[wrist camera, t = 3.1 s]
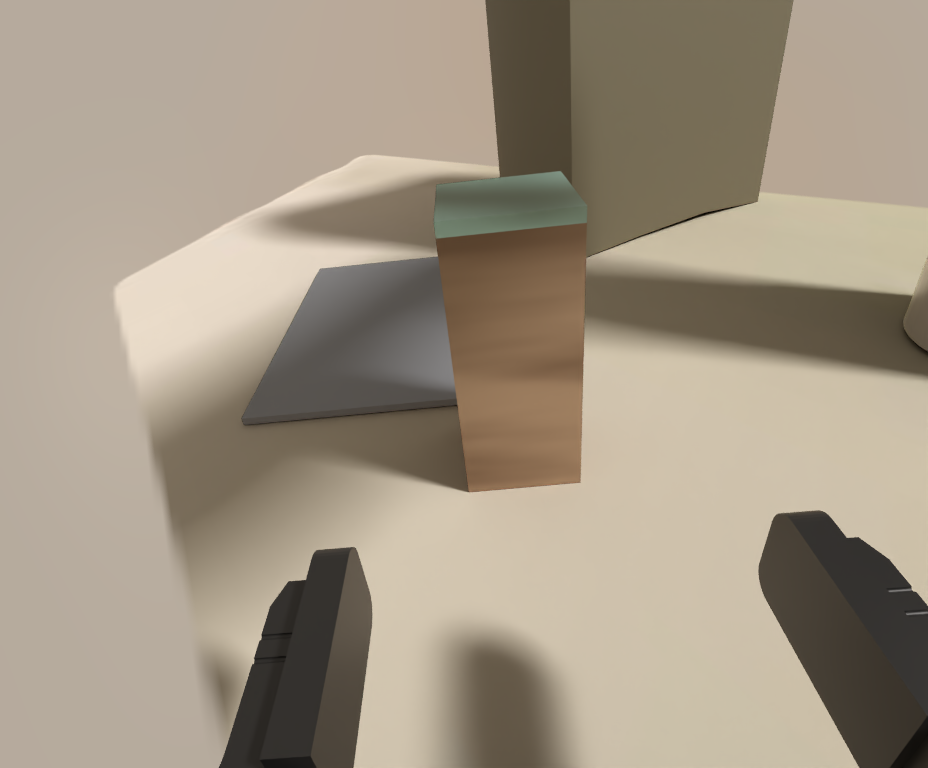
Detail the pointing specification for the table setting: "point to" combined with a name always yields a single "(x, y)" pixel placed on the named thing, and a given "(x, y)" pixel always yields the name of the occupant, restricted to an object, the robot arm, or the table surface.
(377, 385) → the rubber mat
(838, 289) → the table surface
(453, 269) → the walnut block
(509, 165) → the book
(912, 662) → the robot arm
